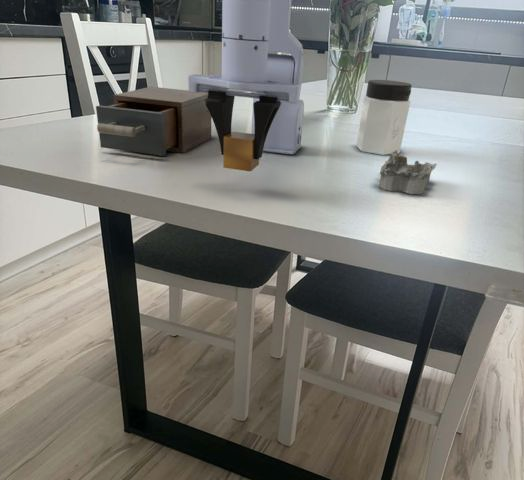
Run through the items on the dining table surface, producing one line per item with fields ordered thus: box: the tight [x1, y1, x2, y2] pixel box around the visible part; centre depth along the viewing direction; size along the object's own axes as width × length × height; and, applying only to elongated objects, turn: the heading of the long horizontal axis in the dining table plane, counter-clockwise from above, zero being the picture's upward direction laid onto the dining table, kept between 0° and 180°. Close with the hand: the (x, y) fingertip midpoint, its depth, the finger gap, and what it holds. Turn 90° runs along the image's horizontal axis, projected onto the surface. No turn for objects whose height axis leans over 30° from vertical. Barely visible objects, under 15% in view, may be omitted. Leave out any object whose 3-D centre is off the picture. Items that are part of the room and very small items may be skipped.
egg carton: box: [378, 150, 437, 195], centre depth 76 cm, size 11×8×4 cm
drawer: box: [95, 101, 179, 157], centre depth 82 cm, size 18×11×6 cm, turn 165°
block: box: [222, 131, 260, 172], centre depth 66 cm, size 4×4×4 cm
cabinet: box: [113, 86, 212, 154], centre depth 90 cm, size 15×13×8 cm
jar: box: [355, 79, 413, 156], centre depth 94 cm, size 9×8×12 cm
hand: (241, 155), depth 67 cm, fingers closed on block, 4 cm apart
